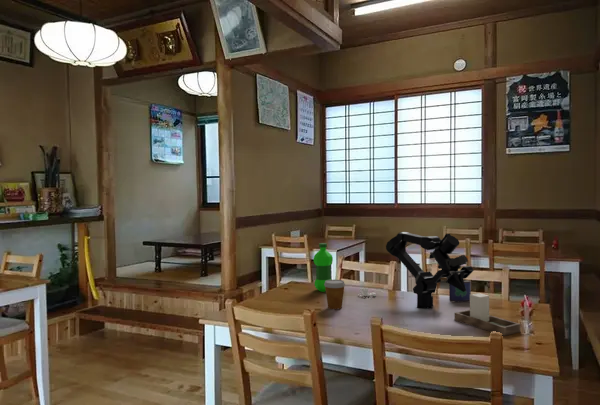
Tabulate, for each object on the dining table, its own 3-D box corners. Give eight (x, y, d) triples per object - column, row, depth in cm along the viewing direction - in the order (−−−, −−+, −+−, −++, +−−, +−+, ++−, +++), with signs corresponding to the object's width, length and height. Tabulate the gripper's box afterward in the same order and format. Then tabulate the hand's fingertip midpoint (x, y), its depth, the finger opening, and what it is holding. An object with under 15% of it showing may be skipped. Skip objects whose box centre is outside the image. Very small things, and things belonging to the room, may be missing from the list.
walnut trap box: (454, 320, 180) (454, 312, 180) (470, 316, 184) (469, 309, 184) (504, 336, 160) (504, 327, 159) (520, 331, 164) (520, 323, 164)
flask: (469, 300, 211) (469, 276, 211) (472, 302, 208) (471, 277, 207) (448, 300, 211) (448, 276, 211) (450, 302, 208) (450, 277, 208)
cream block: (469, 319, 175) (469, 294, 175) (478, 317, 178) (478, 293, 177) (480, 323, 171) (480, 297, 171) (489, 321, 173) (489, 295, 173)
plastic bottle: (337, 290, 236) (336, 243, 236) (324, 293, 229) (324, 245, 228) (322, 287, 243) (321, 242, 242) (310, 291, 235) (309, 244, 234)
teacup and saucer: (377, 296, 223) (377, 288, 223) (371, 299, 217) (370, 291, 216) (361, 294, 228) (361, 286, 228) (354, 297, 221) (354, 289, 221)
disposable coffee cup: (348, 306, 204) (347, 280, 203) (341, 311, 195) (340, 284, 195) (328, 304, 208) (328, 278, 207) (321, 309, 199) (320, 282, 199)
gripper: (437, 250, 180) (459, 282, 171) (470, 247, 189) (492, 277, 180) (424, 267, 187) (444, 298, 178) (455, 262, 196) (476, 292, 187)
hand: (464, 291), depth 180 cm, fingers closed
